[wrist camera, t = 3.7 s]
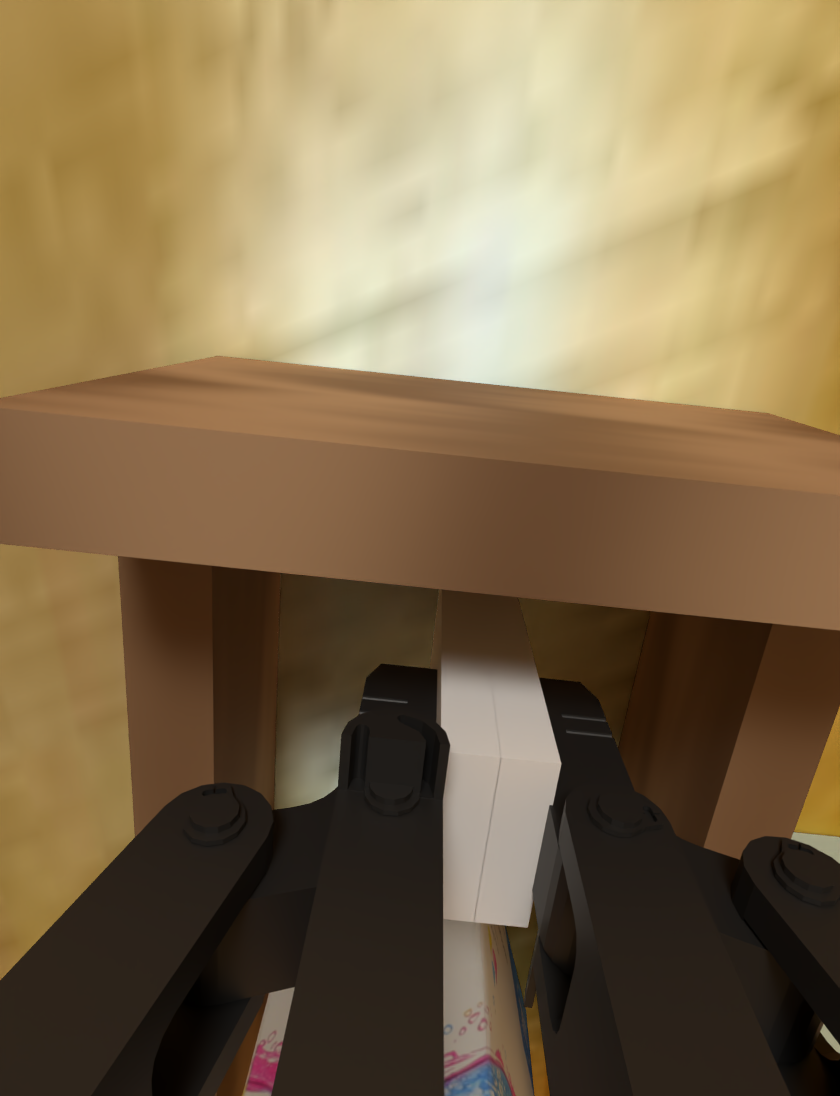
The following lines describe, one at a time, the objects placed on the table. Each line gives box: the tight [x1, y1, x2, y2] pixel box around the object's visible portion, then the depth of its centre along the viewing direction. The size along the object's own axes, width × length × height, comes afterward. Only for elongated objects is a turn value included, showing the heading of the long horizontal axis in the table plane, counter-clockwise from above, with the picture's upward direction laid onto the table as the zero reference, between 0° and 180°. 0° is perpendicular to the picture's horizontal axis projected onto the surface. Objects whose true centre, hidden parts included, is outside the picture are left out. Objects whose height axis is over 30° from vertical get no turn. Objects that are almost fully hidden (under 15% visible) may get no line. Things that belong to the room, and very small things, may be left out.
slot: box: [0, 356, 840, 1096], centre depth 14 cm, size 12×20×8 cm, turn 174°
